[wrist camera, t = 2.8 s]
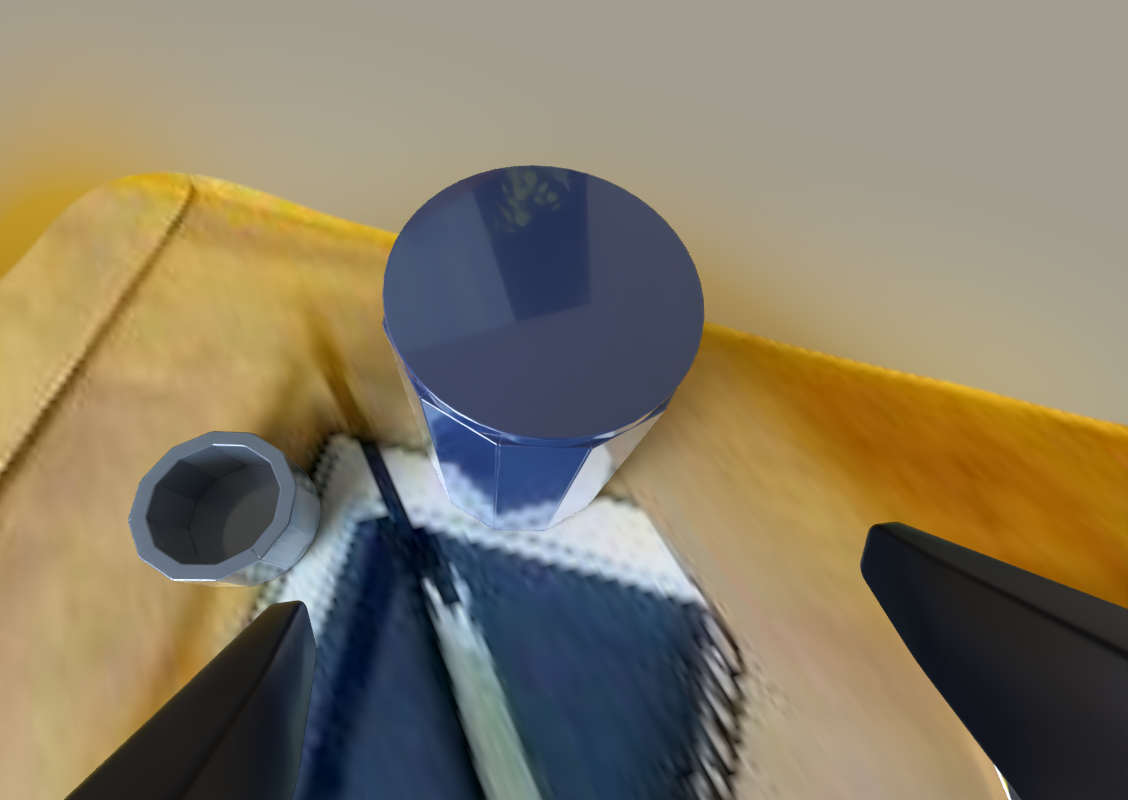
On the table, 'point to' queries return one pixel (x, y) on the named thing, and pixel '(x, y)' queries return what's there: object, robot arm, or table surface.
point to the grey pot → (224, 511)
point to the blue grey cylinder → (537, 336)
